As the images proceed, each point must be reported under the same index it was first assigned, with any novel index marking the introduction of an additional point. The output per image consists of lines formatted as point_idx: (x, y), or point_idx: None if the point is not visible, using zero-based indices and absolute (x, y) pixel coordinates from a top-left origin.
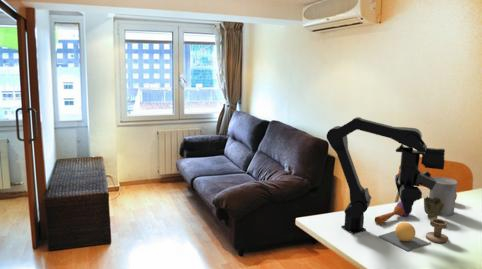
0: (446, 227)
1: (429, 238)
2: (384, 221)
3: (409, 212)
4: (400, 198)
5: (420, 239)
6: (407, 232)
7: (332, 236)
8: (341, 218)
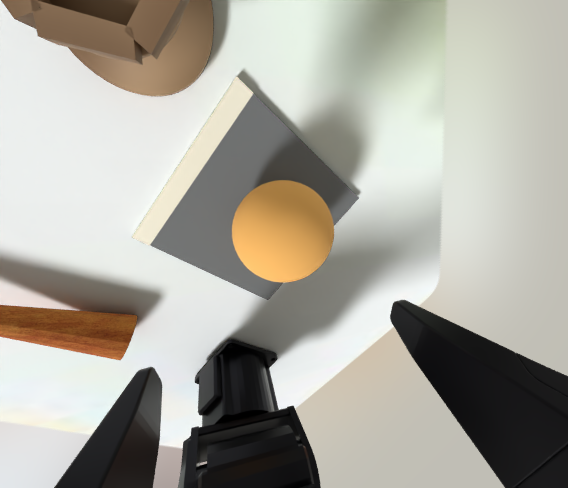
0: None
1: (196, 78)
2: (107, 316)
3: (423, 309)
4: (153, 471)
5: (226, 137)
6: (333, 228)
7: (310, 379)
8: (162, 411)
